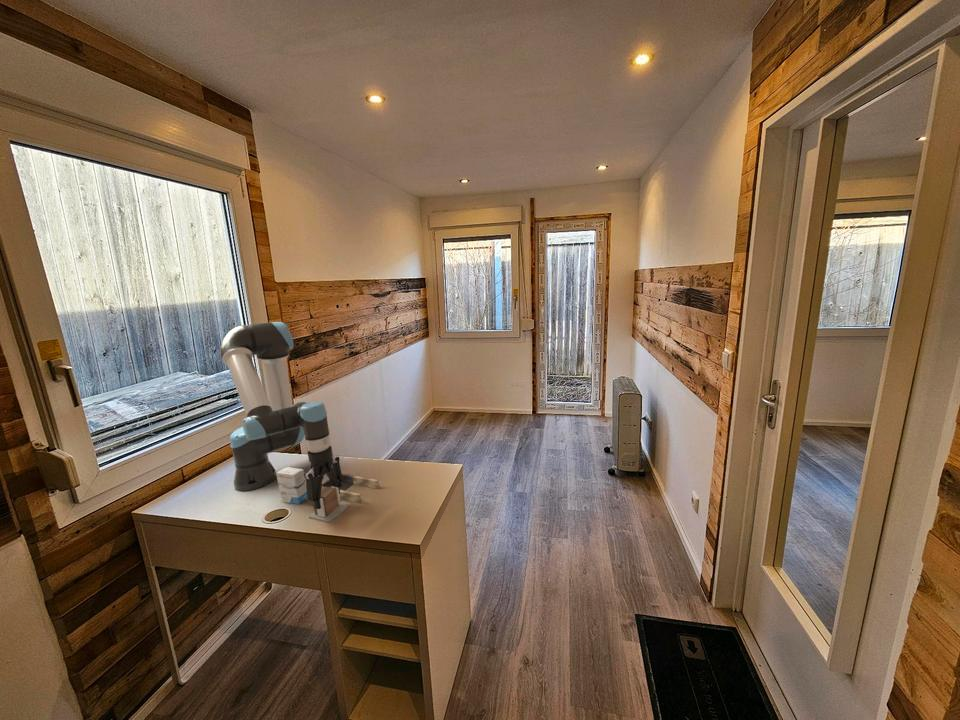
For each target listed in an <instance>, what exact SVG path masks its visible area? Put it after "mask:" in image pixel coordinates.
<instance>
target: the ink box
mask: <svg viewBox="0 0 960 720" xmlns="http://www.w3.org/2000/svg"><path fill="white" fill-rule="evenodd" d="M304 470H305V469H302V468H296V467H291V466H290V467H289V466H286V467H284V468H282V469H281V470H278V471H276V475H277V476H276V480H277V484H278V490H279V495H280V496H279V497H280V500H281V501H280V502H283V503H290V504H294V505H295V504H296V505H300V504H302V503H303V502H305V500H308V498H307V488H306V479H305V477H304V473H305V471H304Z"/></svg>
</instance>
